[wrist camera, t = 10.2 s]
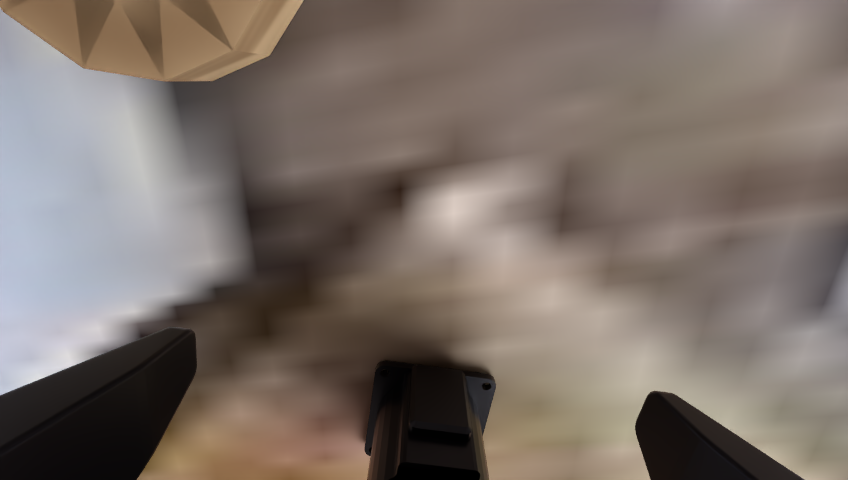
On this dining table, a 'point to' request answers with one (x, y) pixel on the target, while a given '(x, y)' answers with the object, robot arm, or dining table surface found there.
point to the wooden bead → (158, 33)
